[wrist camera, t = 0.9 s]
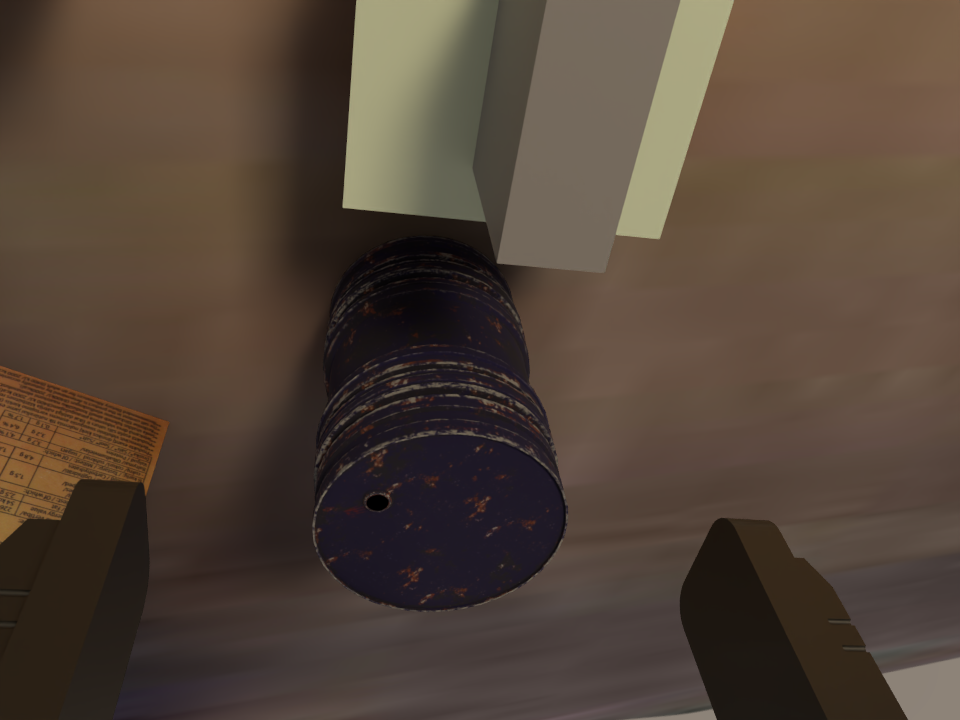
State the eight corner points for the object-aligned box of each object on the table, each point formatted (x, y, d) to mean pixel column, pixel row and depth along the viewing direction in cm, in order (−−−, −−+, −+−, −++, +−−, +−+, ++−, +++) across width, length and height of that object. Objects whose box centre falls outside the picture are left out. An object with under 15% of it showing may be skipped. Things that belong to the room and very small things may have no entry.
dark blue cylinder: (553, 294, 43) (624, 496, 30) (446, 418, 47) (472, 640, 35) (393, 196, 38) (403, 386, 26) (292, 341, 43) (259, 563, 30)
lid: (369, -196, 24) (367, -188, 16) (746, -126, 26) (892, -91, 19) (344, 185, 30) (334, 311, 23) (645, 216, 33) (723, 341, 25)
